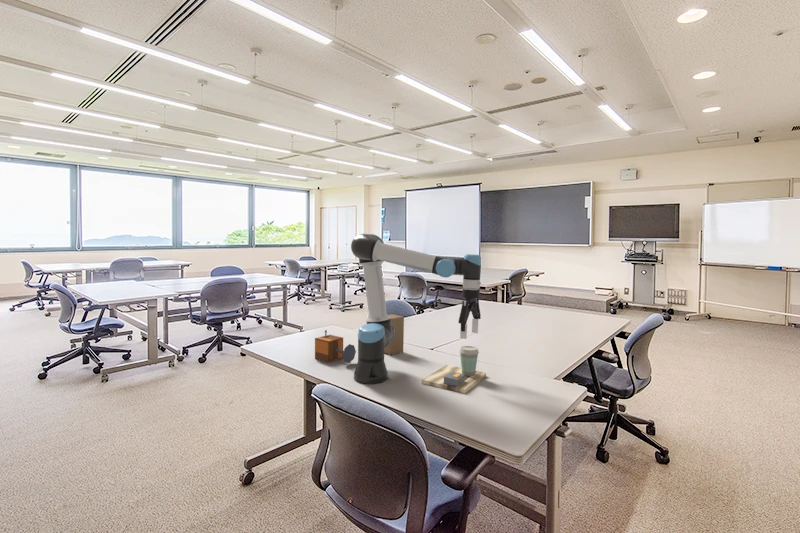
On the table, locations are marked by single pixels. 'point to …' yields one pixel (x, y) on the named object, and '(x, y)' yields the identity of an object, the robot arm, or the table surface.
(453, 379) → the block
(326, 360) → the wooden box with disc
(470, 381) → the plywood panel
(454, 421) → the table surface
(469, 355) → the coffee cup
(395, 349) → the wooden block
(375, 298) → the robot arm
